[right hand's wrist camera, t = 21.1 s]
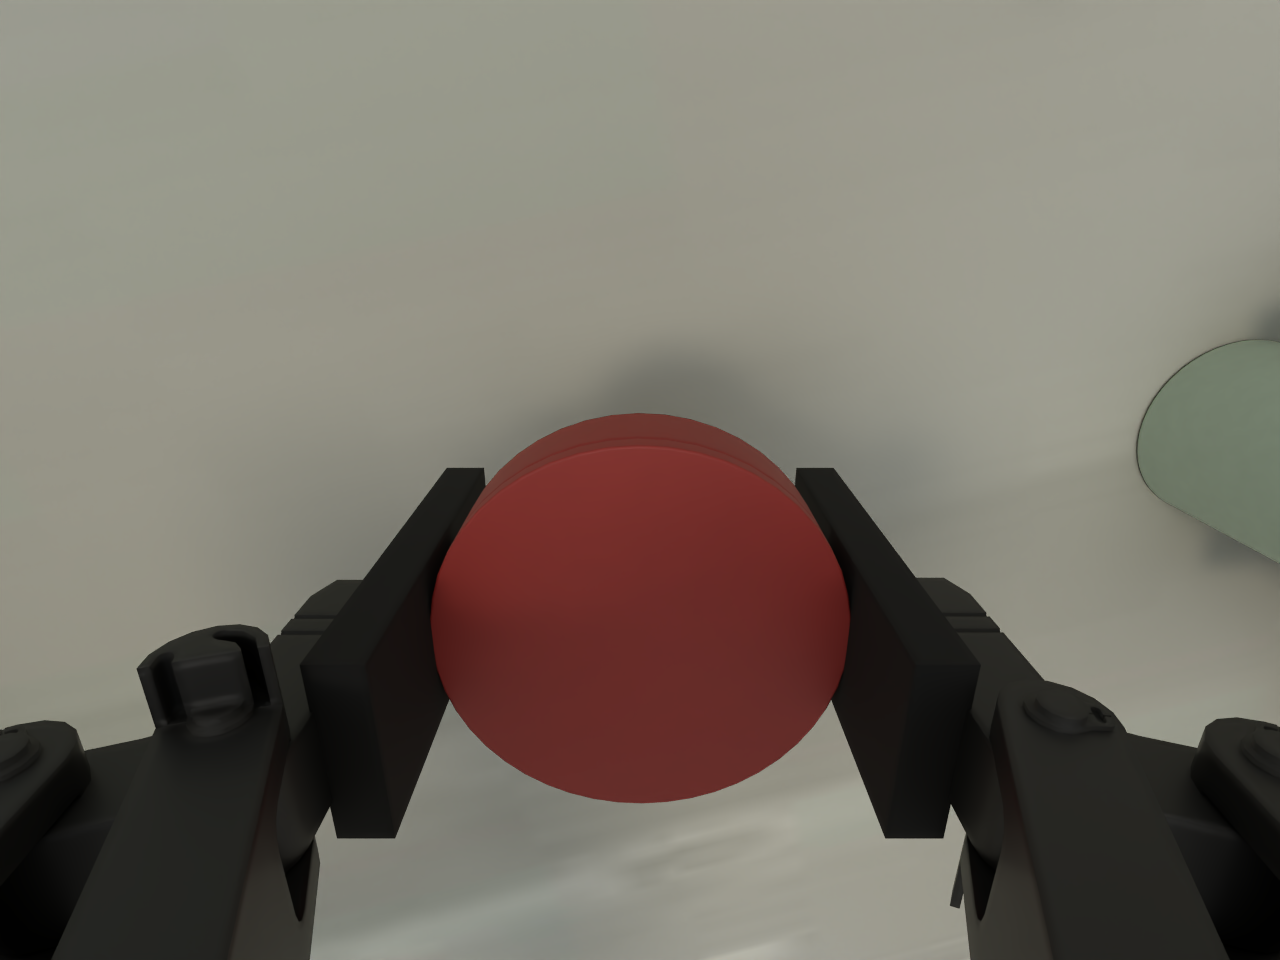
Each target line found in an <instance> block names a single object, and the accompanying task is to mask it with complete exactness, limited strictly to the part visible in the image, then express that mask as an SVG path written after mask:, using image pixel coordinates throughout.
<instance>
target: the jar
mask: <svg viewBox="0 0 1280 960" xmlns="http://www.w3.org/2000/svg"><path fill="white" fill-rule="evenodd" d="M1137 455H1138V464H1139V467H1140V471H1141V474H1142V476H1143V478H1144V480H1145V482H1146V484H1147V485H1148V487H1149V488H1150V489H1151V491H1152V492H1153V493H1154V494H1155V495H1156V496H1157V497H1159V498H1160V499H1162V500H1163V501H1165V502H1166V503H1168V504H1170V505H1172V506H1174V507H1175V508H1177V509H1179V510H1181V511H1183V512H1185V513H1187V514H1188V515H1190V516H1192V517H1194V518H1196V519H1198V520H1199V521H1201V522H1203V523H1205V524H1207V525H1209V526H1211V527H1212V528H1214V529H1216V530H1218V531H1220V532H1222V533H1224V534H1225V535H1227V536H1229V537H1231V538H1233V539H1235V540H1237V541H1238V542H1240V543H1242V544H1244V545H1246V546H1248V547H1249V548H1251V549H1253V550H1255V551H1257V552H1259V553H1261V554H1262V555H1264V556H1266V557H1268V558H1270V559H1272V560H1274V561H1275V562H1277V563H1279V564H1280V342H1276V341H1270V340H1247V341H1240V342H1236V343H1231V344H1228V345H1225V346H1222V347H1219V348H1216V349H1214V350H1212V351H1210V352H1208V353H1205V354H1204V355H1202V356H1200V357H1198V358H1197V359H1195V360H1193V361H1192V362H1191V363H1189V364H1188V365H1186V366H1185V367H1184V368H1182V369H1181V370H1180V371H1179V372H1178V373H1177V374H1176V375H1174V376H1173V377H1172V378H1171V379H1170V380H1169V381H1168V383H1167V384H1166V385H1165V386H1164V387H1163V388H1162V389H1161V391H1160V392H1159V393H1158V395H1157V396H1156V397H1155V399H1154V401H1153V402H1152V404H1151V406H1150V407H1149V409H1148V411H1147V413H1146V415H1145V418H1144V420H1143V423H1142V426H1141V429H1140V433H1139V438H1138V448H1137Z"/></svg>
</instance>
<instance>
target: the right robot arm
mask: <svg viewBox="0 0 1280 960" xmlns="http://www.w3.org/2000/svg"><path fill="white" fill-rule="evenodd" d="M485 487H486V486H485V475H484V468H447V469H446V470H445V471H444V473H443V474H442V475H441V477H440V478H439V479H438V481H437V482H436V483H435V485H434V486H433V487H432V489H431V490H430V491H429V493H428V494H427V495H426V497H425V498H424V499H423V501H422V502H421V503H420V505H419V506H418V507H417V509H416V510H415V511H414V513H413V514H412V515H411V517H410V518H409V519H408V521H407V522H406V523H405V525H404V526H403V527H402V529H401V530H400V531H399V533H398V534H397V535H396V537H395V538H394V539H393V541H392V542H391V543H390V545H389V546H388V547H387V549H386V550H385V551H384V553H383V554H382V555H381V557H380V558H379V559H378V561H377V562H376V563H375V565H374V566H373V567H372V569H371V570H370V571H369V573H368V574H367V575H366V577H365V578H364V579H363V580H336V581H335V582H333V583H331V584H330V585H328V586H327V587H325V588H323V589H322V590H320V591H318V592H317V593H315V594H314V595H312V596H311V597H310V598H309V599H308V600H307V601H306V602H305V604H304V605H303V606H302V607H301V608H300V610H299V611H298V612H297V613H296V614H295V618H294V619H291V620H290V621H289V622H288V624H287V625H286V626H285V627H284V628H283V629H282V631H281V635H277V636H276V638H275V639H274V640H273V641H272V642H271V643H270V642H269V638H268V635H267V634H266V633H264V632H263V631H262V630H260V629H259V628H258V627H252V626H246V625H241V624H238V625H224V626H215V627H211V628H207V629H203V630H199V631H195V632H191V633H189V634H187V635H184V636H182V637H179V638H177V639H175V640H172V641H170V642H168V643H166V644H165V645H163V646H162V647H160V648H159V649H157V650H155V651H154V652H152V653H151V654H149V655H148V656H147V657H146V659H145V660H144V661H143V662H142V663H141V664H140V665H139V666H138V668H137V672H138V675H139V678H140V681H141V684H142V687H143V690H144V693H145V696H146V699H147V703H148V706H149V709H150V712H151V715H152V718H153V721H154V724H155V727H156V729H155V731H154V734H153V736H151V737H147V738H143V739H139V740H134V741H129V742H124V743H119V744H115V745H110V746H105V747H100V748H96V749H91V750H86V751H84V749H83V747H82V744H81V741H80V739H79V736H78V733H77V731H76V729H75V728H73V727H72V726H70V725H69V724H67V723H66V722H59V721H47V720H44V721H38V722H32V723H25V724H19V725H15V726H11V727H7V728H5V729H4V730H0V960H310V952H311V943H312V933H313V924H314V915H315V905H316V896H317V887H318V877H319V868H320V860H319V854H318V848H317V844H316V839H315V834H316V832H317V830H318V828H319V826H320V825H321V823H322V821H323V819H324V817H325V815H326V813H327V811H328V809H329V807H330V808H331V812H332V817H333V822H334V826H335V831H336V835H337V838H395V837H396V835H397V832H398V830H399V827H400V824H401V822H402V819H403V817H404V814H405V812H406V809H407V806H408V804H409V801H410V799H411V796H412V794H413V791H414V789H415V786H416V783H417V781H418V778H419V776H420V773H421V771H422V768H423V765H424V763H425V760H426V758H427V755H428V753H429V750H430V747H431V745H432V742H433V740H434V737H435V735H436V732H437V730H438V727H439V724H440V722H441V719H442V717H443V714H444V712H445V709H446V706H447V704H448V701H449V697H448V695H447V693H446V692H445V690H444V687H443V684H442V682H441V679H440V677H439V674H438V671H437V667H436V660H435V653H434V646H433V638H432V629H431V621H430V613H431V601H432V595H433V591H434V587H435V583H436V579H437V575H438V573H439V570H440V568H441V565H442V563H443V561H444V558H445V556H446V554H447V551H448V550H449V548H450V546H451V544H452V543H453V541H454V539H455V537H456V535H457V534H458V532H459V530H460V528H461V527H462V525H463V523H464V521H465V520H466V518H467V516H468V514H469V513H470V511H471V509H472V507H473V506H474V504H475V503H476V501H477V499H478V498H479V496H480V494H481V493H482V491H483V490H484V488H485ZM795 487H796V489H797V490H798V492H799V493H800V495H801V496H802V498H803V499H804V501H805V502H806V504H807V506H808V507H809V509H810V511H811V513H812V515H813V516H814V518H815V520H816V522H817V523H818V525H819V527H820V529H821V530H822V532H823V534H824V536H825V538H826V539H827V541H828V543H829V545H830V546H831V548H832V550H833V553H834V555H835V557H836V559H837V562H838V564H839V566H840V568H841V570H842V574H843V577H844V581H845V584H846V588H847V592H848V596H849V605H850V617H851V618H850V627H849V635H848V643H847V651H846V658H845V665H844V670H843V673H842V676H841V679H840V682H839V685H838V687H837V689H836V691H835V693H834V695H833V697H832V699H831V700H832V703H833V705H834V708H835V711H836V713H837V716H838V718H839V721H840V723H841V726H842V728H843V731H844V734H845V736H846V739H847V741H848V744H849V746H850V749H851V752H852V754H853V757H854V759H855V762H856V764H857V767H858V769H859V772H860V775H861V777H862V780H863V782H864V785H865V787H866V790H867V793H868V795H869V798H870V800H871V803H872V805H873V808H874V811H875V813H876V816H877V818H878V821H879V823H880V826H881V828H882V831H883V834H884V836H885V838H943V837H944V833H945V828H946V824H947V819H948V814H949V810H950V805H952V807H953V809H954V811H955V813H956V814H957V816H958V818H959V820H960V822H961V824H962V826H963V828H964V830H965V832H966V835H965V839H964V844H963V848H962V852H961V857H960V861H959V865H958V869H957V874H956V878H955V882H954V887H953V891H952V897H951V903H950V906H953V907H956V908H960V904H961V900H962V896H963V894H964V903H965V913H966V922H967V931H968V940H969V950H970V959H971V960H1280V727H1278V726H1277V725H1275V724H1271V723H1267V722H1262V721H1256V720H1250V719H1244V718H1237V717H1236V718H1224V719H1216V720H1215V721H1213V722H1212V723H1210V724H1209V725H1207V726H1206V727H1205V730H1204V732H1203V735H1202V738H1201V740H1200V743H1199V746H1198V748H1194V747H1190V746H1185V745H1180V744H1175V743H1170V742H1166V741H1161V740H1156V739H1151V738H1146V737H1142V736H1137V735H1134V734H1130V733H1127V732H1126V730H1125V728H1124V726H1123V725H1122V724H1121V722H1120V721H1119V720H1118V718H1117V717H1116V716H1115V714H1114V713H1113V712H1112V711H1110V710H1109V709H1108V708H1106V707H1105V706H1104V705H1102V704H1101V703H1100V702H1098V701H1097V700H1096V699H1094V698H1092V697H1090V696H1088V695H1086V694H1084V693H1082V692H1080V691H1078V690H1076V689H1073V688H1071V687H1067V686H1064V685H1060V684H1057V683H1053V682H1050V681H1044V679H1043V678H1042V677H1041V676H1040V675H1039V674H1038V672H1037V671H1036V670H1035V669H1034V668H1033V667H1032V665H1031V664H1030V663H1029V662H1028V661H1027V660H1026V658H1025V657H1024V656H1023V655H1022V654H1021V653H1020V651H1019V650H1018V649H1017V648H1016V647H1015V646H1014V644H1013V643H1012V642H1011V641H1010V640H1009V639H1008V638H1007V636H1006V635H1005V634H1004V633H1000V628H999V627H998V626H997V625H996V624H995V622H994V621H993V620H992V619H991V618H990V617H987V616H986V612H985V611H984V610H983V608H982V607H981V606H980V605H979V604H978V603H977V601H976V600H975V599H974V598H973V597H972V596H971V594H969V593H968V592H966V591H964V590H963V589H961V588H960V587H958V586H956V585H955V584H953V583H951V582H950V581H948V580H946V579H945V578H916V577H915V576H914V575H913V573H912V572H911V571H910V569H909V568H908V567H907V565H906V564H905V563H904V561H903V560H902V559H901V557H900V556H899V555H898V553H897V552H896V551H895V549H894V548H893V547H892V545H891V544H890V543H889V541H888V540H887V539H886V537H885V536H884V535H883V533H882V532H881V531H880V529H879V528H878V527H877V525H876V524H875V523H874V521H873V520H872V519H871V517H870V516H869V515H868V513H867V512H866V511H865V509H864V508H863V507H862V505H861V504H860V503H859V501H858V500H857V499H856V497H855V496H854V495H853V493H852V492H851V491H850V489H849V488H848V487H847V485H846V484H845V483H844V481H843V480H842V479H841V477H840V476H839V475H838V473H837V472H836V471H835V469H834V468H797V469H796V480H795Z"/></svg>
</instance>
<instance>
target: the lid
mask: <svg viewBox="0 0 1280 960" xmlns="http://www.w3.org/2000/svg"><path fill="white" fill-rule="evenodd" d="M850 618H851V617H850V605H849V596H848V592H847V588H846V584H845V581H844V577H843V574H842V570H841V568H840V566H839V564H838V562H837V559H836V557H835V555H834V553H833V550H832V548H831V546H830V545H829V543H828V541H827V539H826V538H825V536H824V534H823V532H822V530H821V529H820V527H819V525H818V523H817V522H816V520H815V518H814V516H813V515H812V513H811V511H810V509H809V507H808V506H807V504H806V502H805V501H804V499H803V498H802V496H801V495H800V493H799V492H798V490H797V489H796V487H795V486H794V484H793V483H792V482H791V481H790V480H789V479H788V478H787V476H786V475H785V474H784V473H783V472H782V471H781V470H780V469H779V467H777V466H776V465H775V464H774V463H773V462H772V461H770V460H769V459H768V458H767V457H766V456H765V455H763V454H762V453H761V452H760V451H758V450H757V449H755V448H754V447H752V446H750V445H749V444H747V443H746V442H744V441H743V440H741V439H740V438H738V437H735V436H733V435H731V434H729V433H727V432H725V431H723V430H720V429H718V428H716V427H713V426H710V425H707V424H704V423H701V422H698V421H694V420H691V419H686V418H681V417H675V416H670V415H662V414H643V413H635V414H621V415H610V416H605V417H600V418H595V419H590V420H586V421H583V422H580V423H577V424H574V425H571V426H568V427H565V428H562V429H560V430H558V431H556V432H554V433H552V434H550V435H548V436H546V437H544V438H542V439H540V440H538V441H536V442H535V443H533V444H532V445H530V446H529V447H527V448H526V449H524V450H523V451H521V452H520V453H518V454H517V455H516V456H515V457H514V458H513V459H511V460H510V461H509V462H508V463H507V464H506V465H505V466H504V467H503V468H501V469H500V470H499V471H498V473H497V474H496V475H495V476H494V477H493V479H492V480H491V481H490V482H489V483H488V485H487V486H486V487H485V488H484V490H483V491H482V493H481V494H480V496H479V498H478V499H477V501H476V503H475V504H474V506H473V507H472V509H471V511H470V513H469V514H468V516H467V518H466V520H465V521H464V523H463V525H462V527H461V528H460V530H459V532H458V534H457V535H456V537H455V539H454V541H453V543H452V544H451V546H450V548H449V550H448V551H447V554H446V556H445V558H444V561H443V563H442V565H441V568H440V570H439V573H438V575H437V579H436V583H435V587H434V591H433V595H432V601H431V613H430V621H431V629H432V638H433V646H434V653H435V660H436V667H437V671H438V674H439V677H440V679H441V682H442V684H443V687H444V690H445V692H446V693H447V695H448V697H449V699H450V701H451V702H452V704H453V706H454V708H455V710H456V711H457V713H458V714H459V715H460V717H461V718H462V719H463V721H464V722H465V723H466V725H467V726H468V727H469V729H470V730H471V731H472V732H473V733H474V734H475V735H476V736H477V737H478V738H479V739H480V740H481V741H482V742H483V743H484V744H485V745H486V746H487V747H488V748H489V749H490V750H492V751H493V752H494V753H495V754H497V755H498V756H499V757H500V758H502V759H503V760H504V761H505V762H507V763H509V764H510V765H512V766H513V767H515V768H516V769H518V770H520V771H521V772H523V773H524V774H526V775H528V776H530V777H532V778H534V779H536V780H539V781H541V782H543V783H545V784H547V785H549V786H552V787H555V788H558V789H561V790H563V791H566V792H569V793H572V794H577V795H581V796H585V797H589V798H593V799H599V800H606V801H613V802H625V803H655V802H669V801H675V800H682V799H688V798H693V797H697V796H701V795H704V794H708V793H712V792H715V791H718V790H721V789H723V788H726V787H729V786H731V785H734V784H737V783H739V782H741V781H743V780H745V779H747V778H749V777H751V776H753V775H755V774H757V773H759V772H760V771H762V770H763V769H765V768H766V767H768V766H769V765H771V764H772V763H774V762H775V761H777V760H778V759H780V758H781V757H782V756H783V755H785V754H786V753H787V752H788V751H789V750H790V749H792V748H793V747H794V746H795V745H796V744H798V742H799V741H800V740H801V739H802V738H803V737H804V736H805V735H806V734H807V733H808V732H809V731H810V730H811V729H812V727H813V726H814V725H815V723H816V722H817V721H818V719H819V718H820V716H821V715H822V714H823V712H824V711H825V709H826V708H827V706H828V704H829V703H830V701H831V699H832V697H833V695H834V693H835V691H836V689H837V687H838V685H839V682H840V679H841V676H842V673H843V670H844V665H845V658H846V651H847V643H848V635H849V627H850Z"/></svg>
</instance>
